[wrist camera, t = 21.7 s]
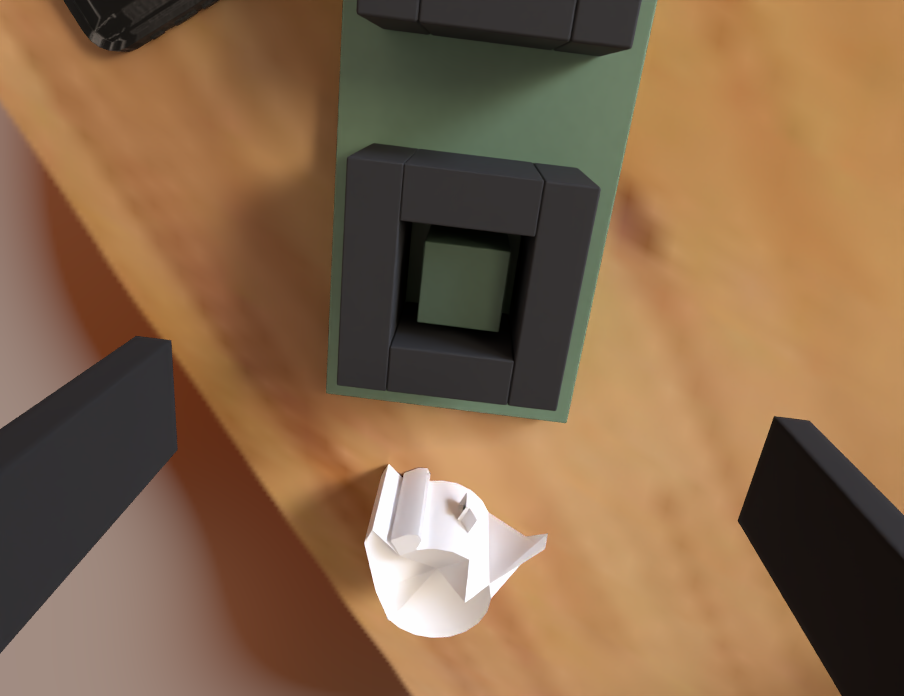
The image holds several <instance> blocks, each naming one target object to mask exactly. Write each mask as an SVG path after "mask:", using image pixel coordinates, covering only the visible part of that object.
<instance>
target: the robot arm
mask: <svg viewBox="0 0 904 696" xmlns="http://www.w3.org/2000/svg"><path fill="white" fill-rule="evenodd" d="M176 451H177V433H176V416H175V398H174V381H173V362H172V345H171V340H164V339H157V338H148V337H140V336H135V337H134V338H132V339H131V340H130V341H128V342H127V343H125V344H124V345H123V346H121V347H119V348H118V349H116V350H115V351H114V352H112V353H111V354H109V355H108V356H106V357H105V358H103V359H102V360H100V361H99V362H97V363H96V364H95V365H93V366H92V367H90V368H89V369H87V370H86V371H84V372H83V373H82V374H80V375H79V376H77V377H76V378H74V379H73V380H71V381H70V382H68V383H67V384H66V385H64V386H62V387H61V388H60V389H58V390H57V391H56V392H54V393H52V394H51V395H49V396H48V397H46V398H45V399H44V400H42V401H41V402H39V403H38V404H36V405H35V406H33V407H32V408H30V409H29V410H28V411H26V412H25V413H23V414H22V415H20V416H19V417H18V418H16V419H14V420H13V421H11V422H10V423H9V424H7V425H6V426H4V427H3V428H1V429H0V653H1V652H2V651H3V650H4V649H5V647H6V646H7V645H8V644H9V643H10V642H11V640H12V639H13V638H14V637H15V636H16V634H18V632H19V631H20V630H21V629H22V628H23V627H24V626H25V624H26V623H27V622H28V621H29V620H30V619H31V618H32V616H33V615H34V614H35V613H36V612H37V611H38V609H39V608H40V607H41V606H42V605H43V604H44V603H45V601H46V600H47V599H48V598H49V597H50V596H51V594H52V593H53V592H54V591H55V590H56V589H57V588H58V586H59V585H60V584H61V583H62V582H63V581H64V580H65V578H66V577H67V576H68V575H69V574H70V572H72V570H73V569H74V568H75V567H76V566H77V565H78V564H79V562H80V561H81V560H82V559H83V558H84V557H85V556H86V554H87V553H88V552H89V551H90V550H91V548H92V547H93V546H94V545H95V544H96V543H97V542H98V541H99V539H100V538H101V537H102V536H103V535H104V534H105V533H106V531H107V530H108V529H109V528H110V527H111V526H112V524H113V523H114V522H115V521H116V520H117V519H118V518H119V516H120V515H121V514H122V513H123V512H124V511H125V510H126V508H127V507H128V506H129V505H130V504H131V503H132V502H133V500H134V499H135V498H136V497H137V496H138V495H139V494H140V492H141V491H142V490H143V489H144V488H145V487H146V485H147V484H148V483H149V482H150V481H151V480H152V479H153V477H154V476H155V475H156V474H157V473H158V472H159V470H160V469H161V468H162V467H163V466H164V465H165V464H166V462H167V461H168V460H169V459H170V458H171V457H172V456H173V454H174V453H175V452H176ZM738 522H739V524H740V525H741V527H742V529H743V530H744V532H745V534H746V535H747V537H748V539H749V541H750V542H751V544H752V546H753V547H754V549H755V551H756V552H757V554H758V556H759V557H760V559H761V561H762V562H763V564H764V566H765V567H766V569H767V571H768V572H769V574H770V576H771V578H772V579H773V581H774V583H775V584H776V586H777V588H778V589H779V591H780V593H781V594H782V596H783V598H784V599H785V601H786V603H787V604H788V606H789V608H790V610H791V611H792V613H793V615H794V616H795V618H796V620H797V621H798V623H799V625H800V626H801V628H802V630H803V631H804V633H805V635H806V636H807V638H808V640H809V641H810V643H811V645H812V647H813V648H814V650H815V652H816V653H817V655H818V657H819V658H820V660H821V662H822V663H823V665H824V667H825V668H826V670H827V672H828V673H829V675H830V677H831V678H832V680H833V682H834V684H835V685H836V687H837V689H838V690H839V692H840V694H841V695H842V696H904V515H903V514H902V513H901V512H900V511H899V510H898V509H897V508H896V507H895V506H894V505H893V504H892V503H891V502H890V501H889V500H888V499H887V498H886V497H885V496H884V495H883V494H882V493H881V492H880V491H879V490H878V489H877V488H876V487H875V486H874V485H873V484H872V483H871V482H870V481H869V480H868V479H867V478H866V477H865V476H864V475H863V474H862V473H861V472H860V471H859V470H858V469H857V468H856V467H855V466H854V465H853V464H852V463H851V462H850V461H849V460H848V459H847V458H846V457H845V456H844V455H843V454H842V453H841V452H840V451H839V450H838V449H837V448H836V447H835V446H834V445H833V444H832V443H831V442H830V441H829V440H828V439H827V438H826V437H825V436H824V435H823V434H822V433H821V432H820V431H819V430H818V429H817V428H816V427H815V426H814V425H813V424H812V423H811V422H810V421H807V420H799V419H792V418H784V417H776V416H774V418H773V421H772V424H771V427H770V430H769V433H768V435H767V438H766V441H765V444H764V447H763V450H762V453H761V455H760V458H759V461H758V464H757V467H756V470H755V473H754V476H753V478H752V481H751V484H750V487H749V490H748V493H747V496H746V498H745V501H744V504H743V507H742V510H741V513H740V516H739V519H738Z"/></svg>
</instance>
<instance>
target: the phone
mask: <svg viewBox="0 0 904 696" xmlns="http://www.w3.org/2000/svg"><path fill="white" fill-rule="evenodd" d="M217 1H219V0H64V2H65V4H66V5H67V7H68V8H69V10H70V12H71V13H72V15H73V16H74V18H75V19H76V21H77V23H78V24H79V26H80V27H81V29H82V30H83V32H84V33H85V34H86V36H87V37H88V38H89V39H90V41H92V42H93V43H94V44H96V45H97V46H99V47H100V48H103V49H106V50H109V51H119V52H130V51H133V50H135V49H138V48H139V47H141V46H143V45H144V44H146V43H147V42H149V41H151V40H152V39H153V40H154V39H156V38H157V37H159V36H160V35H162V34H164V33H165V31H167V30H168V29H170V28H172V27H173V26H175V25H179V24H181V23H182V22H184V21H186V20H187V19H189V18H190V17H192V16H194V15H195V14H197V13H198V12H197V11H199V10H201V9H202V8H203V9H206V8H208V7H209V6H211V5H213V4H214V3H216V2H217Z"/></svg>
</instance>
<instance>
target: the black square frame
mask: <svg viewBox="0 0 904 696" xmlns="http://www.w3.org/2000/svg"><path fill="white" fill-rule="evenodd" d="M641 2H642V0H357V8H356V12H357V14H358V15H359V16H361V17H363V18H365V19H366V20H368V21H370V22H372V23H374V24H375V25H377V26H379V27H381V28H382V29H386V30H394V31H402V32H410V33H418V34H426V35H429V34H430V33H431V34H432V35H433V36H441V37H449V38H457V39H465V40H473V41H481V42H489V43H497V44H504V45H512V46H520V47H528V48H536V49H544V50H552V49H553V50H555V51H560V52H568V53H576V54H584V55H592V56H599V57H600V56H604V55H608V54H612V53H616V52H620V51H624V50H628V49H631V48H632V46H633V41H634V36H635V31H636V27H637V22H638V17H639V12H640V7H641Z"/></svg>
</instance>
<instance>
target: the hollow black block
mask: <svg viewBox="0 0 904 696" xmlns="http://www.w3.org/2000/svg"><path fill="white" fill-rule="evenodd" d="M600 192H601V188H600V187H599V186H598V185H597V184H596V183H594V182H593V181H592V180H591V179H590V178H589V177H588V176H586V175H585V174H584V173H583V172H582V171H581V170H579V169H578V168H574V167H566V166H558V165H550V164H541V163H532V162H526V161H518V160H509V159H501V158H493V157H485V156H476V155H468V154H460V153H452V152H443V151H435V150H427V149H419V150H418V149H417V148H410V147H402V146H394V145H385V144H377V143H373V144H371V145H369V146H367V147H365V148H363V149H361V150H359V151H358V152H356V153H354V154H352V155H350V156H348V157H347V165H346V187H345V210H344V232H343V255H342V277H341V299H340V322H339V344H338V366H337V385H339V386H347V387H355V388H364V389H372V390H380V391H386V389H387V391H391V392H399V393H407V394H416V395H424V396H432V397H441V398H449V399H457V400H466V401H474V402H482V403H491V404H499V405H507V403H508V405H509V406H516V407H524V408H533V409H541V410H549V411H556V410H557V406H558V401H559V396H560V391H561V386H562V381H563V376H564V371H565V366H566V361H567V356H568V351H569V346H570V341H571V336H572V331H573V326H574V321H575V316H576V311H577V306H578V301H579V296H580V291H581V286H582V281H583V276H584V271H585V266H586V261H587V256H588V251H589V246H590V241H591V237H592V232H593V227H594V222H595V217H596V212H597V207H598V202H599V197H600ZM412 222H416V223H424V224H432V225H441V226H449V227H457V228H465V229H474V230H482V231H490V232H498V233H507V234H515V235H521V241H520V247H519V254H518V260H517V267H516V273H515V279H514V286H513V292H512V299H511V305H510V311H509V315H508V314H505V313H502V315H501V322H500V328H499V332H493V331H485V330H477V329H469V328H461V327H453V326H445V325H437V324H429V323H421V322H417V311H418V303H414V302H406V303H405V300H406V289H407V278H408V266H409V255H410V243H411V232H412Z"/></svg>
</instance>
